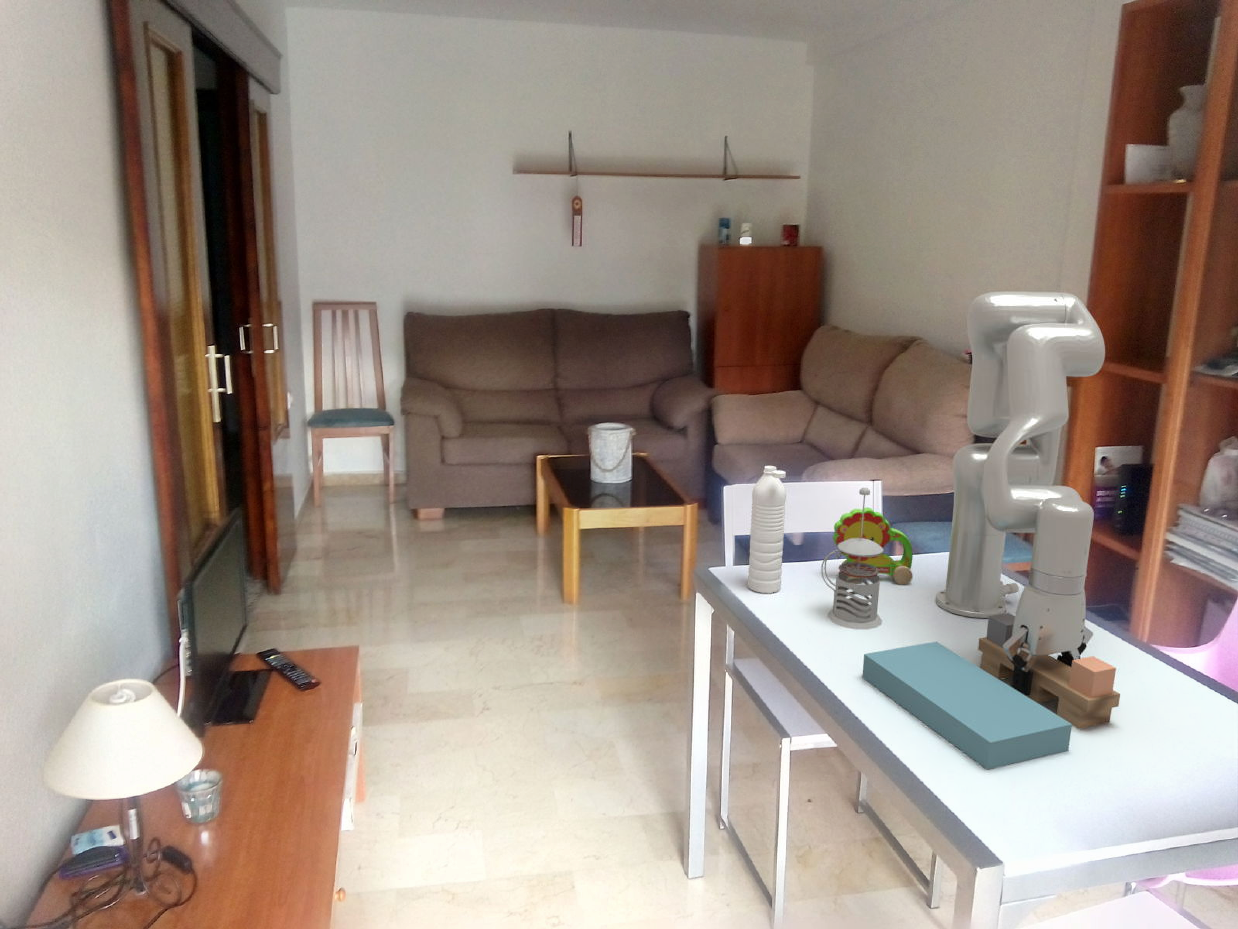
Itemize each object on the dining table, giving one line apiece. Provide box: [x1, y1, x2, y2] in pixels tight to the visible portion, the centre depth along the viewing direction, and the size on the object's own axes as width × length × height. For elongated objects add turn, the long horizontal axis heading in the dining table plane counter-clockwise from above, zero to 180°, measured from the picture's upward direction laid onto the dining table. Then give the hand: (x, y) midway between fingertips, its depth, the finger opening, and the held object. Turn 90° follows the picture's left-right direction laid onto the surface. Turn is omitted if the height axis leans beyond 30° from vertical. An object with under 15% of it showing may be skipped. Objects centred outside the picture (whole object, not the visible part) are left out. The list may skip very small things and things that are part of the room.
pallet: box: [977, 636, 1121, 730], centre depth 143 cm, size 6×22×5 cm, turn 21°
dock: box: [861, 641, 1073, 770], centre depth 138 cm, size 14×28×4 cm, turn 21°
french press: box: [821, 487, 884, 630], centre depth 169 cm, size 10×12×25 cm
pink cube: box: [1069, 655, 1117, 698], centre depth 134 cm, size 4×4×4 cm
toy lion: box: [832, 507, 914, 586], centre depth 189 cm, size 16×5×15 cm, turn 86°
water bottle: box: [747, 465, 787, 594], centre depth 181 cm, size 9×6×25 cm
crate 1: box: [985, 612, 1015, 648], centre depth 150 cm, size 4×4×4 cm
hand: (1042, 686), depth 143 cm, fingers open, 7 cm apart
